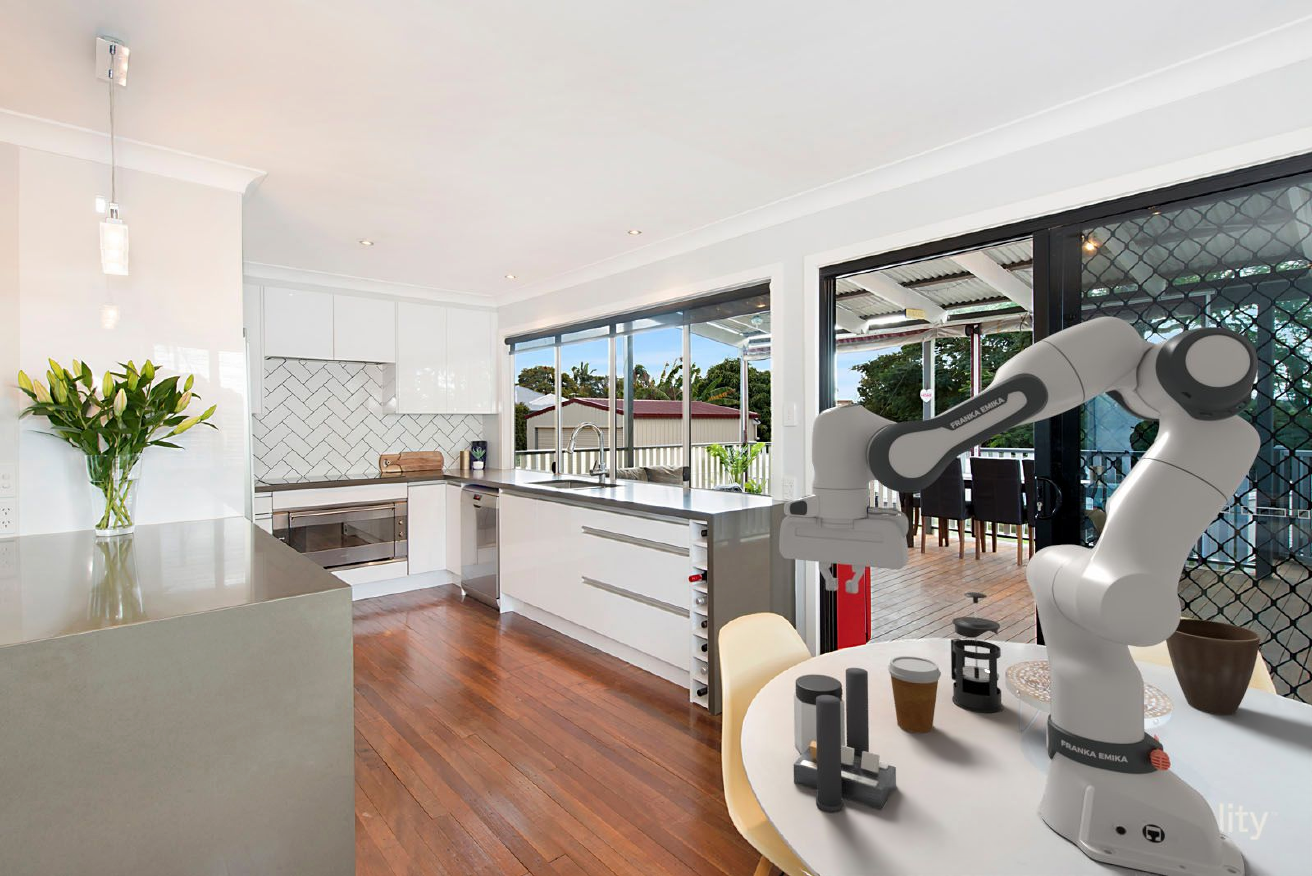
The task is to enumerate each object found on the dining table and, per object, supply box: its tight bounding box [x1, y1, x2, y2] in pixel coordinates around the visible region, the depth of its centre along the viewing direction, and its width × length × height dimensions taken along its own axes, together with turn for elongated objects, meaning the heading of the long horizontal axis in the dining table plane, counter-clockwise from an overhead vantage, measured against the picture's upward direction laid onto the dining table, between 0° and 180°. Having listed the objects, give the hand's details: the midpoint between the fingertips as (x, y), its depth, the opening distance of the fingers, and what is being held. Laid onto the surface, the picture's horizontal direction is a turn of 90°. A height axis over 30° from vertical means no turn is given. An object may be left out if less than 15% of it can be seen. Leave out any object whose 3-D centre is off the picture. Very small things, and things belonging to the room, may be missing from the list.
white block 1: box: [841, 745, 854, 765], centre depth 103 cm, size 2×1×2 cm, turn 55°
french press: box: [950, 591, 1004, 714], centre depth 133 cm, size 12×9×23 cm
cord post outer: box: [815, 695, 844, 814], centre depth 97 cm, size 4×4×16 cm
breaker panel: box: [793, 747, 897, 811], centre depth 102 cm, size 14×8×3 cm, turn 55°
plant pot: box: [1165, 618, 1261, 716], centre depth 129 cm, size 15×15×16 cm
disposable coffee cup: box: [887, 655, 942, 734], centre depth 123 cm, size 10×10×12 cm
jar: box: [793, 673, 846, 756], centre depth 114 cm, size 9×8×12 cm
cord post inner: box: [845, 667, 870, 757], centre depth 108 cm, size 4×4×16 cm
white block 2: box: [861, 751, 880, 772], centre depth 101 cm, size 2×1×2 cm, turn 55°
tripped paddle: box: [810, 741, 817, 759], centre depth 104 cm, size 2×1×2 cm, turn 55°
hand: (841, 591), depth 102 cm, fingers closed
